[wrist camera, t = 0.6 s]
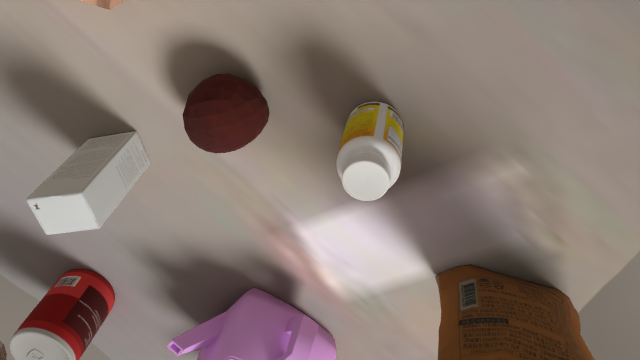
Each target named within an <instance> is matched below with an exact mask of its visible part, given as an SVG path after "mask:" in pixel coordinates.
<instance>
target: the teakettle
mask: <svg viewBox="0 0 640 360" xmlns="http://www.w3.org/2000/svg"><path fill="white" fill-rule="evenodd" d="M167 347H168V348H169V349H170V350H171V351H172V352H174V353H175V354H176V355H177V356H179V355H181V354H184V353H187V352H191V351H194V350H197V349H200V352H199V355H198V358H197V360H335V358H336V345H335V340H334V338H333V337H332V335H331V334H330V333H328V332H327V331H326V330H325V329H324V328H322V327H321V326H320V325H319V324H317V323H316V322H315V321H313V320H312V319H311V318H309V317H308V316H307V315H305V314H304V313H302V312H301V311H299V310H298V309H296V308H294V307H293V306H291V305H289V304H287V303H286V302H284V301H282V300H280V299H278V298H276V297H275V296H273V295H271V294H269V293H267V292H265V291H262V290H260V289H256V288H251V289H250V290H248V291H247V292H246V293H245V294H243V295H242V296H241V297H240V298H239V299H238V300H237V301H236V302H235V303H234V304H233V305H232V306H231V307H230V308H229V309H228V310H227V311H226V312H224V313H222V314H220V315H218V316H216V317H214V318H212V319H210V320H208V321H206V322H204V323H202V324H201V325H199V326H197V327H195V328H193V329H191V330H189V331H187V332H185V333H183V334H181V335H179V336H178V337H176V338H174V339H173V340H172V341H171V342H170V343H169V344H168V345H167Z"/></svg>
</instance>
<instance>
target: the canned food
mask: <svg viewBox="0 0 640 360" xmlns="http://www.w3.org/2000/svg"><path fill="white" fill-rule="evenodd" d="M114 301H115V293H114V290H113V288H112V286H111V285H110V284H109V282H108V281H107V280H106V279H104V278H103V277H102V276H100V275H99V274H97V273H95V272H92V271H89V270H84V269H75V270H71V271H69V272H67V273H65V274H64V275H62V276H61V277H60V278H59V279H58V280H57V282H56V283H55V284H54V285H53V287H52V288H51V289H50V290H49V291H48V293H47V294H46V295H45V296H44V297H43V299H42V300H41V301H40V302H39V304H38V305H37V306H36V307H35V308H34V310H33V311H32V312H31V313H30V315H29V316H28V317H27V318H26V320H25V321H24V322H23V323H22V324H21V326H20V327H19V328H18V330H17V331H16V332H15V333H14V335H13V336H12V338H11V339H10V342H9V349H10V352H11V354H12V356H13V357H14V359H15V360H79V359H80V357H81V356H82V354H83V353H84V351H85V350H86V348H87V347H88V345H89V343H90V342H91V340H92V339H93V337H94V336H95V334H96V333H97V331H98V330H99V328H100V326H101V325H102V323H103V322H104V320H105V319H106V317H107V316H108V314H109V312H110V311H111V309H112V307H113V305H114Z"/></svg>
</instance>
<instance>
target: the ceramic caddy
mask: <svg viewBox="0 0 640 360" xmlns="http://www.w3.org/2000/svg"><path fill="white" fill-rule="evenodd" d="M80 1H83V2H87V3H90V4H93V5H96V6H99V7H103V8H106V9H109V10H111V9H112V8H114V7H116V6H117V5H119V4H121V3H122V2H124V1H126V0H80Z"/></svg>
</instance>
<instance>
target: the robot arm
mask: <svg viewBox="0 0 640 360" xmlns="http://www.w3.org/2000/svg"><path fill="white" fill-rule="evenodd" d="M0 360H6V351H5V347H4V344H3V343H2V342H1V341H0Z"/></svg>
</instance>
